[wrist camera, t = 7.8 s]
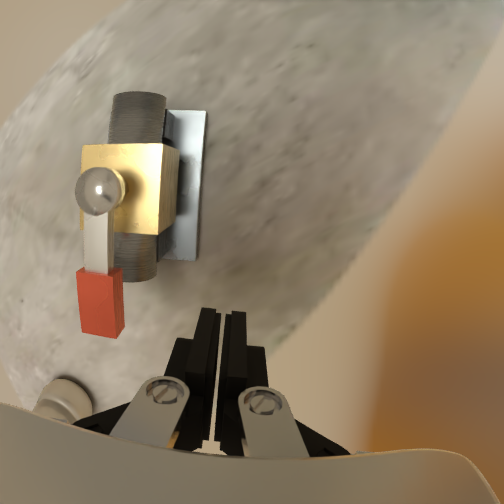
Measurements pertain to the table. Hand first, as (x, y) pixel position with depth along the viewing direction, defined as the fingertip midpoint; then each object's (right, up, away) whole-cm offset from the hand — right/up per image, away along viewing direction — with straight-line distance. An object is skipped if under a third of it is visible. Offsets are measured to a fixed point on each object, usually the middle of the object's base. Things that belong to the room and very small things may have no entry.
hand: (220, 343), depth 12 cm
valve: (-7, +9, +13) cm, 17 cm away
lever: (-7, +4, +4) cm, 9 cm away
